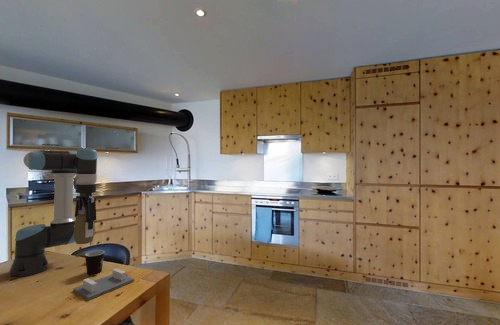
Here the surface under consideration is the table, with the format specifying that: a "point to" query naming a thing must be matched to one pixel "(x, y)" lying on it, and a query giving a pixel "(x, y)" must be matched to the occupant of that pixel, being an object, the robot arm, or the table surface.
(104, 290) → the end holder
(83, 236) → the squeeze bottle
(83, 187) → the robot arm
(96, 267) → the coffee mug
